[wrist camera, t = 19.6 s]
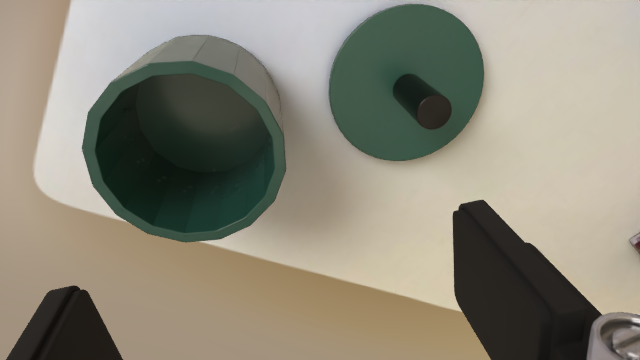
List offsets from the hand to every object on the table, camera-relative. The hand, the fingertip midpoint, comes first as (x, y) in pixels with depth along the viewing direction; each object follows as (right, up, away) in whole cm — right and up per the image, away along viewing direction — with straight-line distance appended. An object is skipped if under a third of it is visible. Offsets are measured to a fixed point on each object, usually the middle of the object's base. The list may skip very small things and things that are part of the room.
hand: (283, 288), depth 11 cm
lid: (+8, +10, +24) cm, 27 cm away
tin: (-8, +8, +23) cm, 26 cm away
